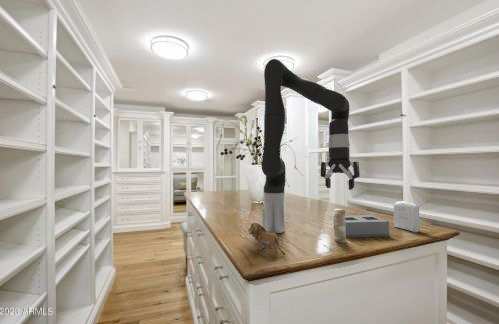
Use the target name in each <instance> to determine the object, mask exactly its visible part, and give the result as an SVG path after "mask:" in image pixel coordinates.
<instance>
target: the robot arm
mask: <svg viewBox="0 0 499 324" xmlns="http://www.w3.org/2000/svg"><path fill="white" fill-rule="evenodd" d="M264 67H265V68H264V72H263V74H264V76H263V77H264V93H265V94H264V95H265V98H264V116H263V117H264V119H263V120H264V121H263V151H262V158H261V159H262V160H261V170H262V173H263V175H264V176H265V183H264V185H263V209H261V212H262V213H261V221H262V222H261V226H263V227H264V229H265V230H266V232H269V233H275V234H281V233H284V232H285V231H286V223H285V219H286V216H285V215H286V214H285V213H286V212H285V211H286V210H285V208H286V207H285V205H286V204H285V188H286V164H285V161H284V159H282V158H281V144H282V139H283V136H284V133H285V127H286V110H285V109H286V108H285V106H284V105H285V104H284V100H283V97H282V91H281V90H282V89H281V88H282V87H284V88H287V89H289V90H292V91H294V92H295V93H297V94H299V95H300V96H302V97H304V98H305V99H307V100H309V101H311V102H313V103H315V104H317V105H320V106H321V107H323V108H325V109H327V110H328V111H330V112H331V113H330V114H331V116H330V118H331V119H330V122H329V125H328V162H326V161H321V162H320V177H321V178H324V179H325V182H324V183H325V187H326V189H331V188H332V187H331V185H332V184H331V182H332V180H331V177H332V176H333V174H338V173H339V174H344V175H346V176H347V178H348V190H350V191H351V190H353V189H354V188H355V180H356V179H359V178H360V176H361V173H360V163H359V161H350V159H351V157H350V145H351V144H350V136H349V115H350V102H349V100H348V99H347V98H346V96H344V95H343V94H342V93H340V92H337V91H335V90H332V89H331V88H330V89H329V88H327V87H325V86H323V85H321V84H320V83H318V82H316V81H313V80H311V79H307V78H304V77H301V76H299V75H297V74H296V73H294V72H293V71H292V70H290V69H289V68H288V66H287V65H286V64H284V63H283V62H282V61H281V60H279V59H277V58H272V59H270V60H269V61H268V62H267V63H266V64H265V66H264ZM328 167H329V169H328V170H327V168H328ZM350 167H352V168H353V173H352V171H351V169H350Z"/></svg>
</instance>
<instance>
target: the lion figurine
mask: <svg viewBox="0 0 499 324" xmlns="http://www.w3.org/2000/svg"><path fill="white" fill-rule="evenodd" d="M247 231H248V232H249V233H248V234H249V235H251V236H252V237H254V239H255V240H256V241H257V244H258V247H257V248H256V250H257V251H261V250H262V249H265V247H266V245H265V244H269V245H270V247H271V248H272V249H273V252H274V254H273V256H274V257H278V256H279V251H280V253H281V254H282V255H284V256H286V254H287V253H285V252H284V251H283V250H282V249H281V246H280V245H281V244H280V240H279V236H278V235H277V233H269V232H266V230H265V229H264V227H263V226H262V224H259V223H258V222H251V223H250V228H248V230H247ZM278 250H279V251H278Z"/></svg>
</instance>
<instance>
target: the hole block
mask: <svg viewBox="0 0 499 324" xmlns="http://www.w3.org/2000/svg"><path fill="white" fill-rule="evenodd" d="M345 224H346V238H366V237H367V238H368V237H369V238H373V237H390V220H389V221H388V220H386V219H383V218H381V217H378V216H375V215H373V214H367V215H366V214H365V215H345Z"/></svg>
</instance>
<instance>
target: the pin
mask: <svg viewBox="0 0 499 324" xmlns="http://www.w3.org/2000/svg"><path fill="white" fill-rule="evenodd" d="M333 211H334V212H333V213H334V214H333V231H334V242H336V243H341V244H344V243H346V242H347V239H346V238H347V237H346V224H345V216H346V209H345V208H344V209H342V208H334V209H333Z"/></svg>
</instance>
